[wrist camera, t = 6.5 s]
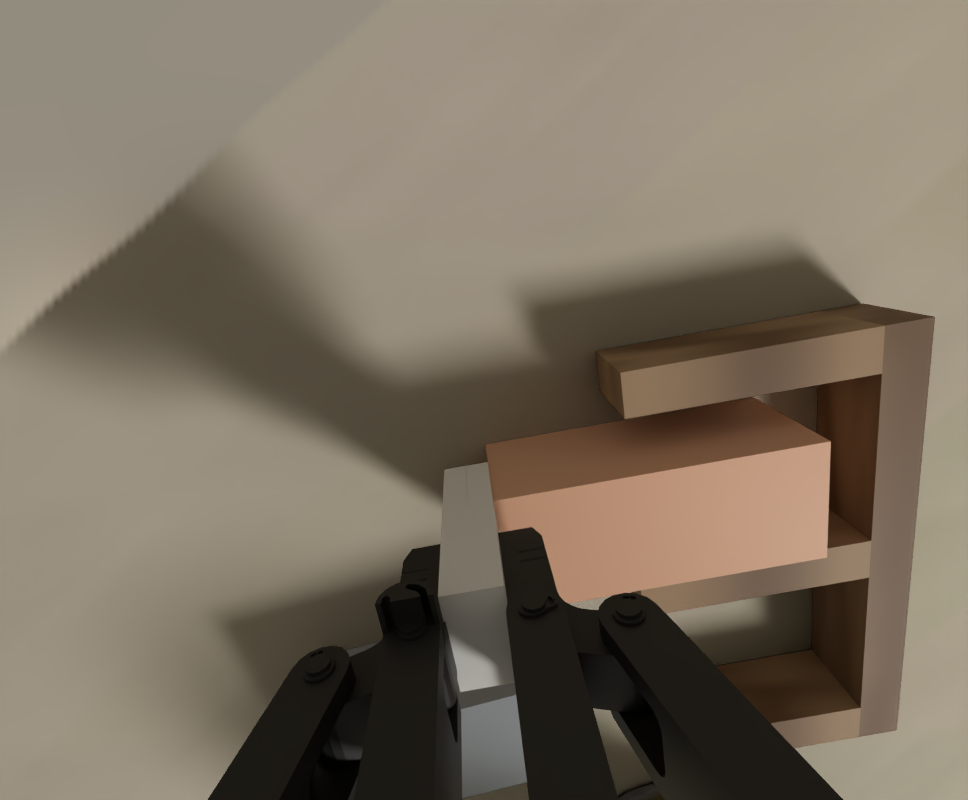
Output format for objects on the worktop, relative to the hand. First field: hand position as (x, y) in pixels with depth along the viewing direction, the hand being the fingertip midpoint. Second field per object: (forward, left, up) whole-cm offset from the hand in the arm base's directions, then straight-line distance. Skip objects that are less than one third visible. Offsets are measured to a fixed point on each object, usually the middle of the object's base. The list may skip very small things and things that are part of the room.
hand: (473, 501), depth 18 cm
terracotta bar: (+6, -1, -2) cm, 6 cm away
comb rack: (+9, -4, -2) cm, 10 cm away
